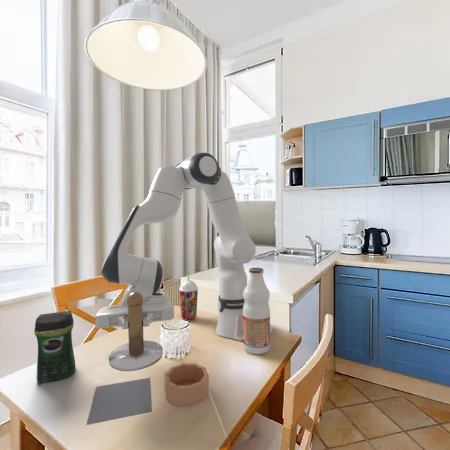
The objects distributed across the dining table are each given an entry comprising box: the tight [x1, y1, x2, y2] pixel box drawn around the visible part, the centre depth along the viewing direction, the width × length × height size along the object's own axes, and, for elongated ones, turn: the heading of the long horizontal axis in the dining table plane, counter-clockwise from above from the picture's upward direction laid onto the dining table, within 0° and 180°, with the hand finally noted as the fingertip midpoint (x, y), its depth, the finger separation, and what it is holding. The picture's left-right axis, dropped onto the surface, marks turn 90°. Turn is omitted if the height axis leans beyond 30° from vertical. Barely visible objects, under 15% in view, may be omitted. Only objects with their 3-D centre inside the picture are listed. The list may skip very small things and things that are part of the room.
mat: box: [86, 377, 153, 426], centre depth 70 cm, size 14×14×1 cm
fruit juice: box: [242, 267, 271, 355], centre depth 96 cm, size 9×9×28 cm
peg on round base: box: [108, 292, 164, 372], centre depth 70 cm, size 13×13×16 cm
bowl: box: [163, 362, 210, 407], centre depth 73 cm, size 11×12×5 cm
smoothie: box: [178, 273, 199, 321], centre depth 124 cm, size 8×8×20 cm
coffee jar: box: [33, 310, 76, 384], centre depth 81 cm, size 10×8×19 cm
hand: (135, 324), depth 69 cm, fingers closed on peg on round base, 4 cm apart
